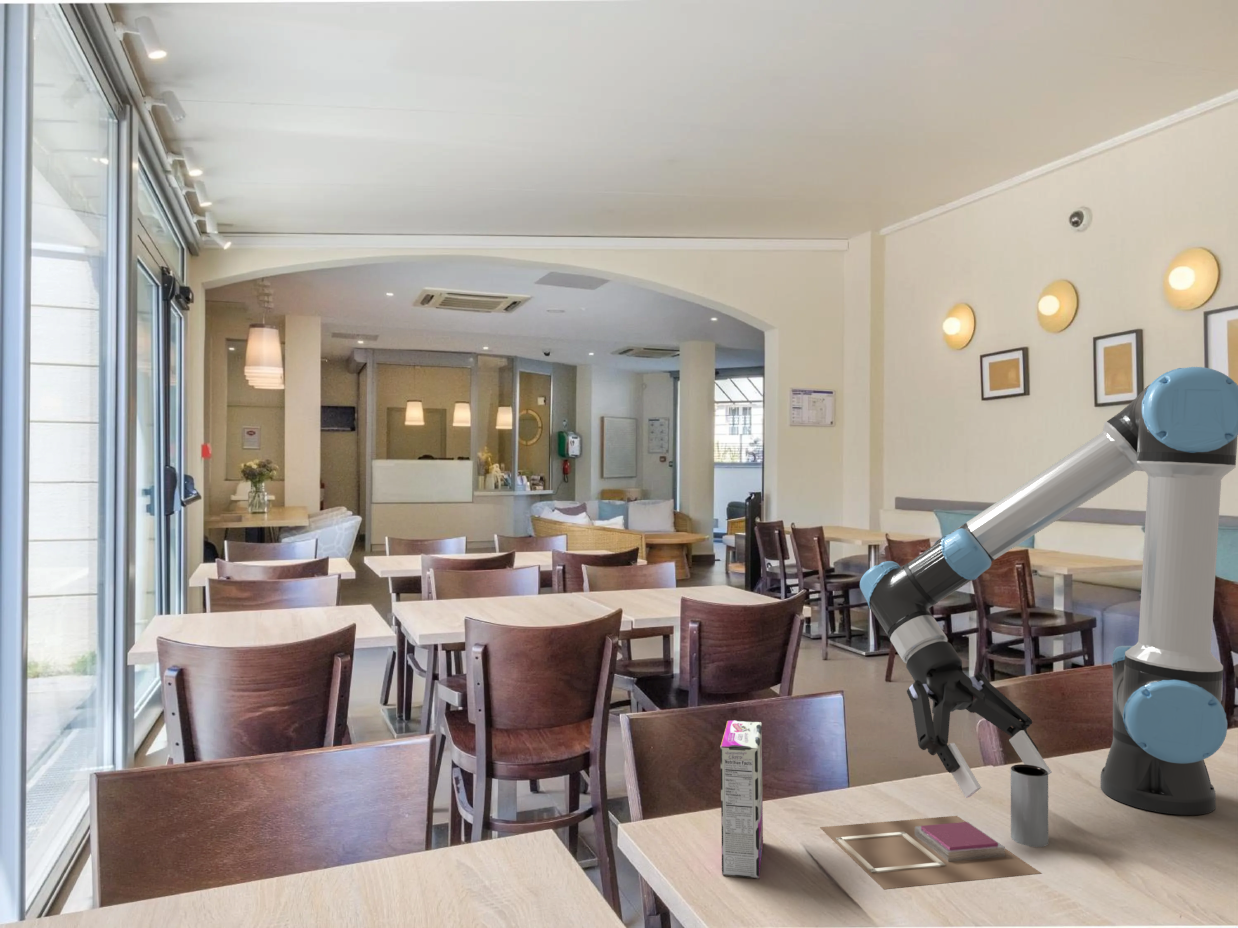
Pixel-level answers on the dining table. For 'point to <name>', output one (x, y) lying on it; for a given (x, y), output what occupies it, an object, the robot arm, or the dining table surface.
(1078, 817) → the dining table surface
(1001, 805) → the dining table surface
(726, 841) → the candy bar box
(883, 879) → the walnut board
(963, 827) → the ink pad
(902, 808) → the dining table surface
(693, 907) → the dining table surface
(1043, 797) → the gray cylinder
